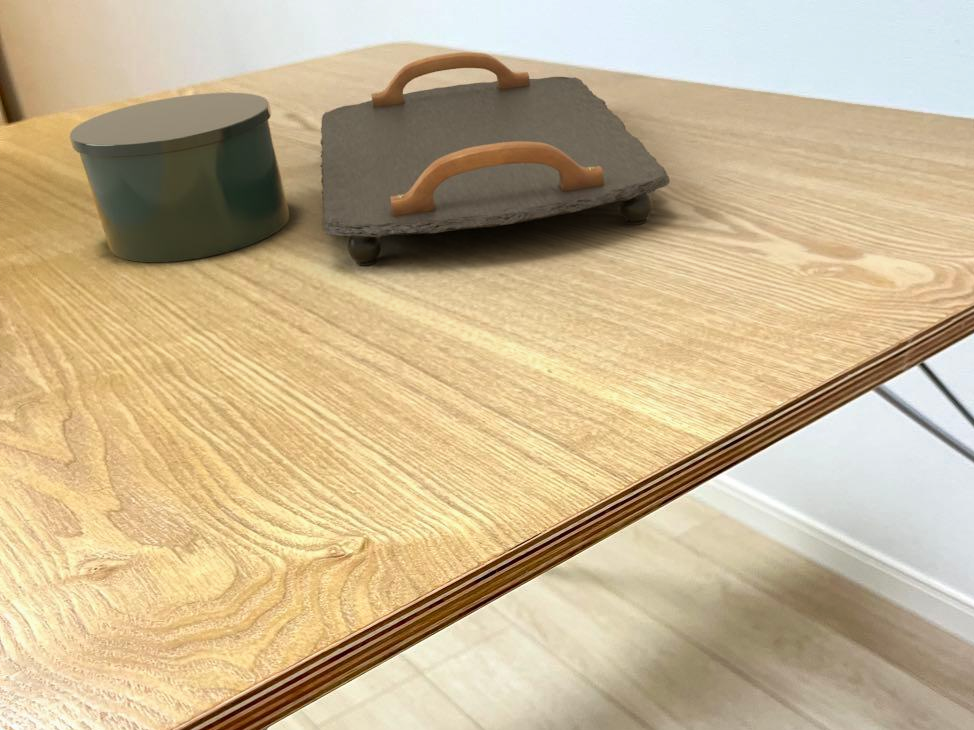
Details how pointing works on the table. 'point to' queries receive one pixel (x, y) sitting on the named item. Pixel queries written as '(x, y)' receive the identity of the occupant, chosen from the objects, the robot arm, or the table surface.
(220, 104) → the canister
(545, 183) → the serving tray
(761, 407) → the table surface
